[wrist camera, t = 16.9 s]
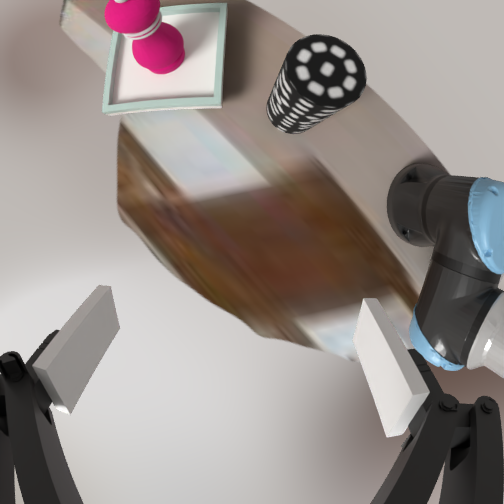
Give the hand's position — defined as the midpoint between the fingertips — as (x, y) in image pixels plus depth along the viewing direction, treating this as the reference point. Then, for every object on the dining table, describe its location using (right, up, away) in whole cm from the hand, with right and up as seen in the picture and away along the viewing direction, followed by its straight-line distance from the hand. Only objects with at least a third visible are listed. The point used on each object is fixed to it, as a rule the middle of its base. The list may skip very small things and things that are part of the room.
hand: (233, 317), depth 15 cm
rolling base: (-12, +34, +26) cm, 44 cm away
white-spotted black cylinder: (+7, +26, +29) cm, 40 cm away
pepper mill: (-12, +33, +22) cm, 41 cm away
